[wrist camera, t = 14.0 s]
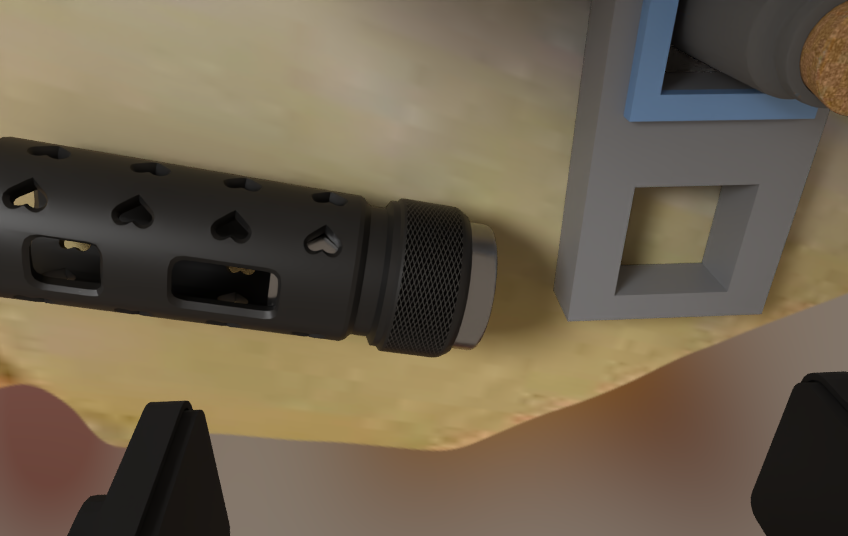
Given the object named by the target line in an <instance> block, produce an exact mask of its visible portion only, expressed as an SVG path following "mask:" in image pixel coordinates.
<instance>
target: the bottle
mask: <svg viewBox="0 0 848 536" xmlns="http://www.w3.org/2000/svg"><path fill="white" fill-rule="evenodd" d="M671 44H672V45H673V46H674V47H676V48H677V49H679V50H681V51H683V52H684V53H686V54H688V55H690V56H692V57H694V58H696V59H698V60H699V61H701V62H703V63H705V64H707V65H709V66H711V67H713V68H715V69H717V70H719V71H721V72H723V73H725V74H727V75H729V76H731V77H733V78H735V79H737V80H739V81H741V82H743V83H745V84H747V85H749V86H751V87H752V88H754V89H756V90H758V91H760V92H762V93H765V94H767V95H770V96H773V97H776V98H780V99H796V100H798V101H800V102H802V103H804V104H807V105H809V106H812V107H816V108H829V109H830V110H832V111H833V112H835V113H838V114H841V115H844V116H848V0H679V2H678V8H677V13H676V18H675V23H674V28H673V33H672V38H671Z"/></svg>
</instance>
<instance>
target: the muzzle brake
mask: <svg viewBox="0 0 848 536" xmlns="http://www.w3.org/2000/svg"><path fill="white" fill-rule="evenodd" d="M32 191H34V198H35V204H34V208H32V207H30V206H29V205H28V204H24V205H19V206H17V205H14V201H15V199H17V198H18V197H20V196H22V195H25V194H27V193H30V192H32ZM65 240H67V241H74V242H80V243H87V244H91V247H90V248H89V249H88V250H87V251H81V250H80V249H79V248H76V247H73V248H70V249H67V248H66V247H65V246H64V241H65ZM229 266H231V267H238V268H245V269H252V270H255V272H254V273H253V274H251V275H246V274H244V273H243V272H241V271H239V272H236V273H232V272H231V271H230V270H229ZM496 278H497V247H496V240H495V236H494V233H493V231H492V229H491V228H490V227H489V226H487V225H485V224H479V223H473V222H470V221H469V219H468V217H467V216H466V215H465V214H464V213H463V212H462V211H460V210H459V209H458V208H456V207H450V206H445V205H439V204H433V203H427V202H421V201H415V200H409V199H400V200H399V201H398V202H396V201H391V202H390V203H389V204H388V205H387V207H386V208H380V207H374V206H370V205H369V204H368V202H367V201H366V199H365V198H363V197H362V196H358V195H352V194H346V193H340V192H334V191H328V190H322V189H316V188H310V187H304V186H299V185H293V184H287V183H281V182H275V181H269V180H263V179H257V178H251V177H245V176H240V175H234V174H228V173H222V172H216V171H210V170H204V169H198V168H192V167H186V166H180V165H175V164H169V163H163V162H157V161H151V160H145V159H139V158H133V157H127V156H121V155H116V154H110V153H104V152H98V151H92V150H86V149H80V148H74V147H68V146H62V145H57V144H51V143H45V142H39V141H33V140H27V139H21V138H15V137H2V138H0V297H4V298H11V299H19V300H27V301H35V302H45V303H50V304H58V305H66V306H73V307H81V308H89V309H96V310H104V311H112V312H120V313H127V314H140V315H143V316H151V317H158V318H166V319H174V320H181V321H189V322H197V323H205V324H212V325H220V326H229V327H236V328H243V329H251V330H259V331H266V332H274V333H282V334H290V335H297V336H309V337H313V338H320V339H328V340H336V341H340V340H343V339H345V338H346V337H347V336H349V335H350V334H354V335H361V336H366V338H367V340H368V343H369V345H372V346H376V347H377V349H378V350H379V351H386V352H393V353H401V354H409V355H417V356H425V357H439V356H441V355H443V354H446V353H447V352H449V351H450V350H451V348H454V349H462V350H471V349H473V348H475V347H476V346H477V345H478V343H479V342H480V340H481V338H482V336H483V334H484V332H485V330H486V327H487V324H488V321H489V318H490V314H491V310H492V305H493V301H494V294H495V288H496Z"/></svg>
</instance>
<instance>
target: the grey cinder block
mask: <svg viewBox="0 0 848 536" xmlns="http://www.w3.org/2000/svg"><path fill="white" fill-rule="evenodd" d="M678 2H679V0H591V8H590V16H589V23H588V31H587V38H586V46H585V54H584V61H583V69H582V76H581V84H580V92H579V99H578V107H577V115H576V122H575V130H574V137H573V145H572V153H571V160H570V168H569V175H568V183H567V191H566V198H565V206H564V214H563V221H562V229H561V236H560V244H559V252H558V259H557V267H556V274H555V282H554V290H553V291H554V293H555V295H556V297H557V299H558V301H559V304H560V306H561V308H562V310H563V312H564V314H565V317H566V319H567V321H591V320H617V319H644V318H671V317H697V316H724V315H750V314H762V311H763V308H764V305H765V302H766V299H767V296H768V293H769V290H770V287H771V284H772V281H773V278H774V275H775V272H776V269H777V266H778V263H779V260H780V257H781V254H782V251H783V248H784V245H785V242H786V239H787V236H788V233H789V230H790V227H791V224H792V221H793V218H794V215H795V212H796V209H797V206H798V204H799V201H800V198H801V195H802V192H803V189H804V186H805V183H806V180H807V177H808V174H809V171H810V168H811V165H812V162H813V159H814V156H815V153H816V150H817V147H818V144H819V141H820V138H821V135H822V132H823V129H824V126H825V123H826V120H827V117H828V114H829V111H830V109H829V108H816V107H812V106H809V105H807V104H804V103H802V102H800V101H798V100H796V99H780V98H776V97H773V96H770V95H767V94H765V93H762V92H760V91H758V90H756V89H754V88H752V87H751V86H749V85H747V84H745V83H743V82H741V81H739V80H737V79H735V78H733V77H731V76H729V75H727V74H725V73H723V72H665V69H666V64H667V58H668V53H669V48H670V43H671V38H672V33H673V28H674V23H675V18H676V13H677V8H678ZM713 185H722V188H721V192H720V196H719V200H718V203H717V207H716V211H715V215H714V218H713V222H712V226H711V230H710V234H709V237H708V241H707V245H706V249H705V252H704V256H703V260H702V263H678V264H646V265H620V264H621V259H622V253H623V248H624V243H625V237H626V232H627V227H628V222H629V216H630V211H631V206H632V201H633V195H634V190H635V187H671V186H713Z"/></svg>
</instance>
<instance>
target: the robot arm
mask: <svg viewBox="0 0 848 536" xmlns="http://www.w3.org/2000/svg"><path fill="white" fill-rule="evenodd" d="M751 507H752V511H753V514H754V516H755V518H756V520H757V521H758V523H759V524H760V526H761V528H762V529H763V531H764V533H765V534H766V536H848V372H823V373H810V374H807V375H806V376H805V377H804V378H803V380H802V381H801V383H798V384H796V385H795V386H794V388H793V390H792V393H791V395H790V398H789V400H788V403H787V405H786V408H785V410H784V413H783V416H782V418H781V420H780V423H779V426H778V428H777V431H776V433H775V436H774V438H773V441H772V443H771V446H770V449H769V451H768V453H767V456H766V459H765V461H764V464H763V466H762V469H761V471H760V474H759V476H758V479H757V481H756V484H755V486H754V489H753V491H752V495H751ZM67 536H230V526H229V520H228V516H227V511H226V507H225V502H224V498H223V494H222V489H221V485H220V480H219V476H218V471H217V467H216V463H215V458H214V454H213V449H212V445H211V440H210V436H209V431H208V427H207V422H206V418H205V414H204V412H203V410H193V409H192V406H191V404H190V402H189V401H168V402H150V403H148V404H147V405H146V407H145V408H144V410H143V412H142V415H141V417H140V419H139V422H138V424H137V426H136V429H135V431H134V433H133V435H132V438H131V440H130V442H129V445H128V447H127V449H126V452H125V454H124V457H123V459H122V461H121V464H120V466H119V468H118V470H117V473H116V475H115V477H114V479H113V482H112V484H111V487H110V489H109V491H108V493H107V495H95V496H90V497H89V498H88V499H87V500H86V501H85V502H84V503H83V505H82V507H81V509H80V510H79V512H78V514H77V516H76V518H75V520H74V522H73V524H72V527H71V529H70V531H69V533H68V535H67Z"/></svg>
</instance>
